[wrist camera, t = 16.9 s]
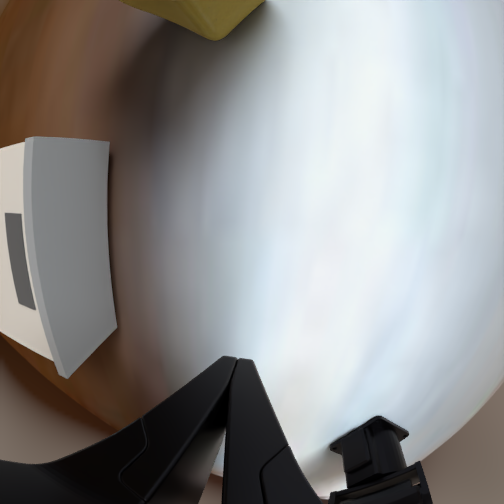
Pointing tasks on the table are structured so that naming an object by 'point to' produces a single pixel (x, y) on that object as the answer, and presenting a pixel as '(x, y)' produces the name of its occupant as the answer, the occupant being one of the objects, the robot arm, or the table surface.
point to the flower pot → (200, 14)
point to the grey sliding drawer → (69, 244)
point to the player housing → (17, 259)
